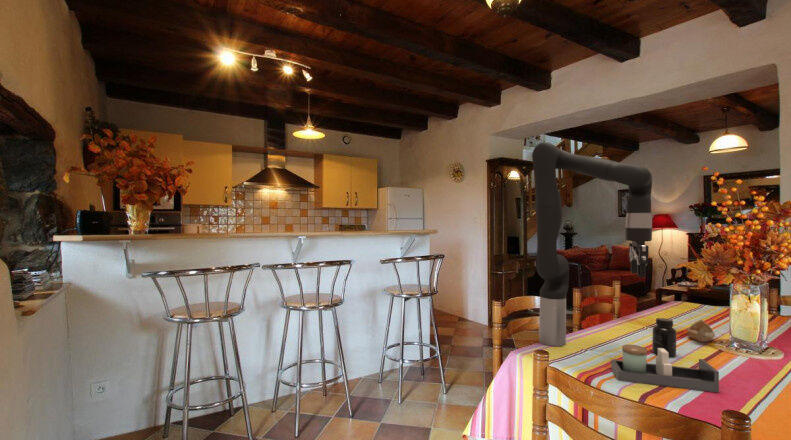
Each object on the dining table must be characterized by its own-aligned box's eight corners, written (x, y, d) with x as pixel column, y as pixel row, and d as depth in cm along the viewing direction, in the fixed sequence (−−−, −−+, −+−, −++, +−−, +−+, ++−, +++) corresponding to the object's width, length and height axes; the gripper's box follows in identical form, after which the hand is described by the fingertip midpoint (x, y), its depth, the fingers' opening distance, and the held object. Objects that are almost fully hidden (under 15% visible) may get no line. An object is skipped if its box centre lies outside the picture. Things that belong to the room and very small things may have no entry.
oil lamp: (686, 344, 145) (687, 317, 145) (686, 331, 162) (686, 307, 162) (716, 349, 140) (717, 321, 139) (712, 334, 157) (713, 310, 157)
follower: (663, 381, 110) (663, 354, 110) (655, 372, 117) (655, 346, 116) (671, 382, 109) (672, 355, 109) (663, 372, 116) (663, 346, 116)
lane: (618, 380, 112) (618, 361, 112) (611, 367, 122) (611, 349, 122) (718, 392, 104) (718, 372, 104) (702, 378, 114) (702, 359, 114)
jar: (625, 377, 113) (625, 350, 113) (619, 369, 119) (620, 343, 119) (649, 380, 111) (649, 352, 111) (643, 372, 117) (643, 345, 117)
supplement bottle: (680, 358, 130) (680, 322, 130) (657, 356, 131) (658, 321, 131) (670, 351, 137) (670, 317, 137) (648, 349, 138) (649, 316, 138)
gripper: (658, 227, 121) (657, 278, 122) (645, 226, 135) (644, 272, 135) (631, 227, 124) (630, 277, 124) (620, 226, 137) (620, 271, 137)
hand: (638, 275), depth 130 cm, fingers open, 8 cm apart
